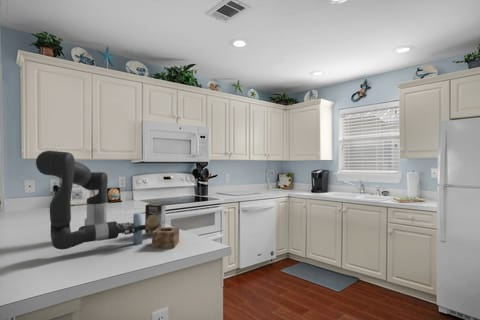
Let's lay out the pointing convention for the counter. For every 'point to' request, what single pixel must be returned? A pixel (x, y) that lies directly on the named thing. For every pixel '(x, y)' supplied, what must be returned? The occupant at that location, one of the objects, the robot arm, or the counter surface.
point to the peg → (138, 236)
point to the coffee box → (154, 217)
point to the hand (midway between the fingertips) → (142, 225)
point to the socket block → (165, 237)
